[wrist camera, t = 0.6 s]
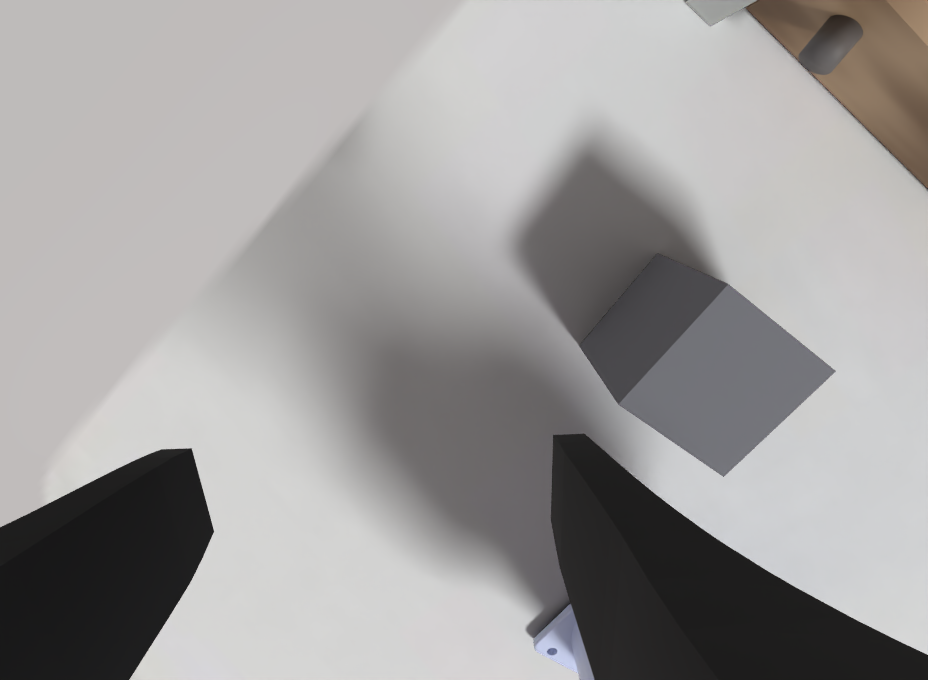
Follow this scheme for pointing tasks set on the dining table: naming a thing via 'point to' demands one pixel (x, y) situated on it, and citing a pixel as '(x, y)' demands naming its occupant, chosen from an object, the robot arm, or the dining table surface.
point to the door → (864, 63)
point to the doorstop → (701, 363)
